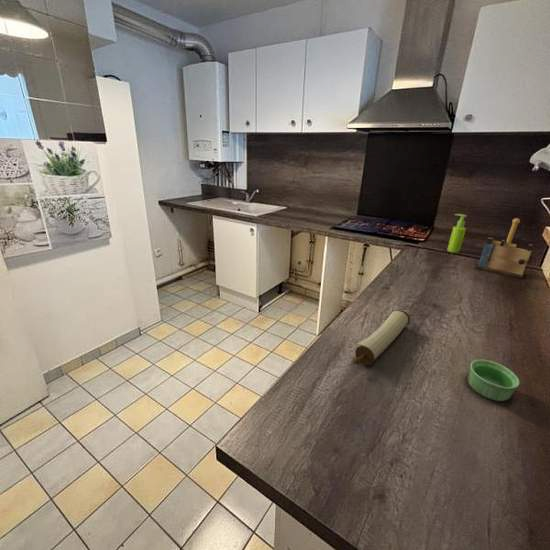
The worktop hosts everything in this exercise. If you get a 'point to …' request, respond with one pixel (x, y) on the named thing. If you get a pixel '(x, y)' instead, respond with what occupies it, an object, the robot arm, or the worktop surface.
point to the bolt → (510, 234)
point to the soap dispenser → (457, 235)
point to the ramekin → (492, 380)
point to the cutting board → (504, 259)
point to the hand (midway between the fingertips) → (545, 174)
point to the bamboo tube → (381, 338)
